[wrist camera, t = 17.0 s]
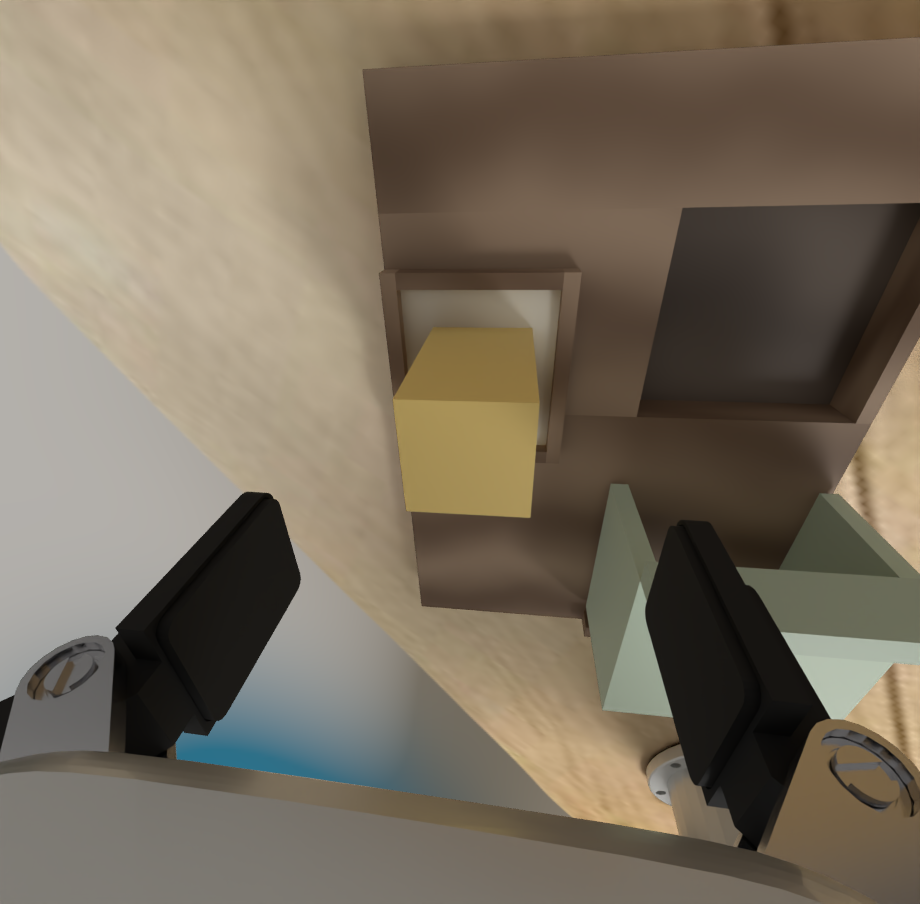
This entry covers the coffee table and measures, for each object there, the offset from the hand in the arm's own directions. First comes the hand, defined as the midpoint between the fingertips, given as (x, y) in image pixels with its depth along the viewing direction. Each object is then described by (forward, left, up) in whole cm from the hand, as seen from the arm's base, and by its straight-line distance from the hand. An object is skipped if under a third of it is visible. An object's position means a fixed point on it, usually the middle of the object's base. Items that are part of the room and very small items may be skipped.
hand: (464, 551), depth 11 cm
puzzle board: (-2, -6, -12) cm, 14 cm away
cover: (-9, -11, -10) cm, 17 cm away
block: (+1, 0, -10) cm, 10 cm away
